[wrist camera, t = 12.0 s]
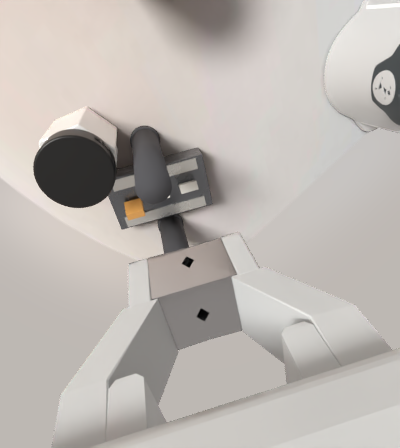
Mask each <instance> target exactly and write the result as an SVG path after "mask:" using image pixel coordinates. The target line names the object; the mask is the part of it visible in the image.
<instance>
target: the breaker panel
mask: <svg viewBox="0 0 400 448" xmlns="http://www.w3.org/2000/svg"><path fill="white" fill-rule="evenodd" d="M164 160H165V163H166V166H167V170H168V173H169V176H170V180H171V183H172V191H171V194H170V198H167V199H166V200H165V201H163V202H161V203H158V204H149V203H146V202H144V201H142V202H143V206H144V211H145V216H143V217H139V218H136V219H132V220H128V218H127V216H126V212H125V206H124V202H127V201H131V200H135V199H138V198H139V197H138V196H137V194H136V191H135V179H134V165H132V166H128V167H125V168H121V169H117V174H116V180H115V183H114V186H113V189H112V190H111V192H110V193H109V195H108V196H109V199H110V201H111V204H112V206H113V209H114V211H115V214H116V216H117V219H118V221H119V224H120V226H121V229H126V228H129V227H133V226H136V225H140V224H143V223H147V222H150V221H154V220H157V219H161V218H165V217H168V216H172V215H175V214H179V213H182V212H186V211H189V210H193V209H196V208H200V207H203V206H207V205H211V204H212V199H211V194H210V190H209V185H208V180H207V175H206V171H205V166H204V161H203V157H202V154H201V152H200V150H199V149H198V148H194V149H191V150H187V151H183V152H180V153H176V154H172V155H169V156H165V157H164ZM192 180H196V181H197V185H198V190H195V191H191V192H188V193H184V194H181V192H180V188H179V185H178V184H181V183H185V182H188V181H192Z"/></svg>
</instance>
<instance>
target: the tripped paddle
mask: <svg viewBox="0 0 400 448" xmlns="http://www.w3.org/2000/svg"><path fill="white" fill-rule="evenodd" d="M124 206H125V212H126V216H127V218H128V220H132V219H136V218H139V217H143V216H145V211H144V206H143V202H142V200H141V199H140V198H138V199H135V200H131V201H127V202H124Z"/></svg>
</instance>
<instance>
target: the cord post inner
mask: <svg viewBox="0 0 400 448" xmlns="http://www.w3.org/2000/svg"><path fill="white" fill-rule="evenodd" d="M130 143H131V147H132V150H133V164H134V179H135V191H136V194H137V196H138V197H139V198H140V199H141V200H142V201H144V202H146V203H149V204H158V203H161V202H163V201H165V200H166V199H167V198H168V197H169V195H170V194H171V191H172V183H171V180H170V176H169V173H168V170H167V166H166V163H165V160H164V156H163V153H162V150H161V147H160V138H159V135H158V133H157V132H156V131H155V130H154V129H153V128H151V127H149V126H140V127H138V128H136V129H135V130H134V131H133V132H132V134H131V138H130Z"/></svg>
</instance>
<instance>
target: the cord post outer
mask: <svg viewBox="0 0 400 448" xmlns="http://www.w3.org/2000/svg"><path fill="white" fill-rule="evenodd" d="M158 228H159V231H160V232H161V238H162V243H163V249H164V254H165V253H169V252H172V251H176V250H180V249H185V248H189V245H188V242H187V239H186V235H185V232H184V229H183V221H182V218H181V216H180V215H178V214H175V215H172V216H168V217H165V218H161V219H159V220H158Z"/></svg>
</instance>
